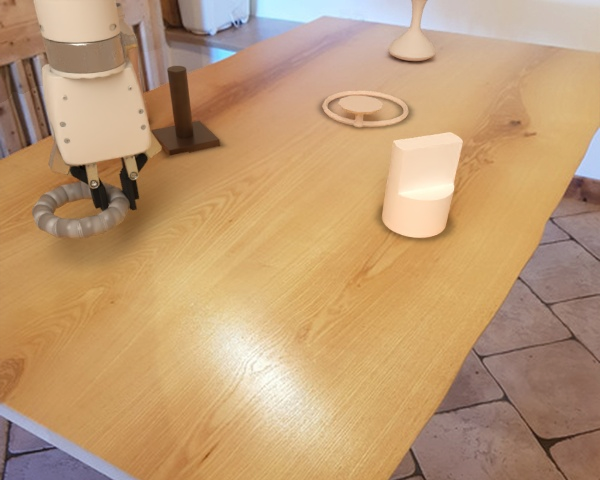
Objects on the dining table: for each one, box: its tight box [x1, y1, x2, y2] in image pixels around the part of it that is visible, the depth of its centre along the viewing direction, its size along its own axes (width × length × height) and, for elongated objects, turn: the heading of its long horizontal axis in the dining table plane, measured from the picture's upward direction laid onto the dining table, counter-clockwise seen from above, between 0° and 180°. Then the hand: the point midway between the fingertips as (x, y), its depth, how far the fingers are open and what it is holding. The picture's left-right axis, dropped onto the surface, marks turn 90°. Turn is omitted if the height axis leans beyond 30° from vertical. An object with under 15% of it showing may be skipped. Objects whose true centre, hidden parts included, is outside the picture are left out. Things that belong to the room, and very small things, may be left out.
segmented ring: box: [31, 180, 130, 239], centre depth 65 cm, size 11×11×2 cm
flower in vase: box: [387, 0, 436, 62], centre depth 125 cm, size 13×11×25 cm
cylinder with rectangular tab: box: [381, 131, 464, 239], centre depth 73 cm, size 9×9×12 cm
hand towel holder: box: [321, 89, 409, 128], centre depth 105 cm, size 17×4×21 cm
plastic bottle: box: [116, 2, 150, 120], centre depth 94 cm, size 6×7×20 cm
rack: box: [150, 65, 221, 157], centre depth 91 cm, size 9×9×12 cm
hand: (117, 206), depth 68 cm, fingers closed on segmented ring, 2 cm apart
